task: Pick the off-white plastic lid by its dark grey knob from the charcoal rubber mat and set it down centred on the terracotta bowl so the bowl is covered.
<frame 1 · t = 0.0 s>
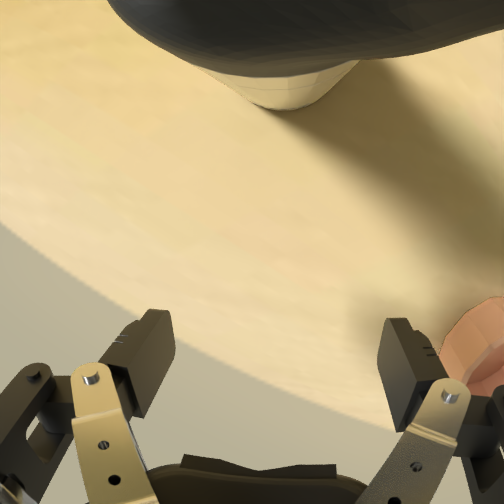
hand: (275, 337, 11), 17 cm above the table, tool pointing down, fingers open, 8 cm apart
bowl: (484, 344, 30), on the table
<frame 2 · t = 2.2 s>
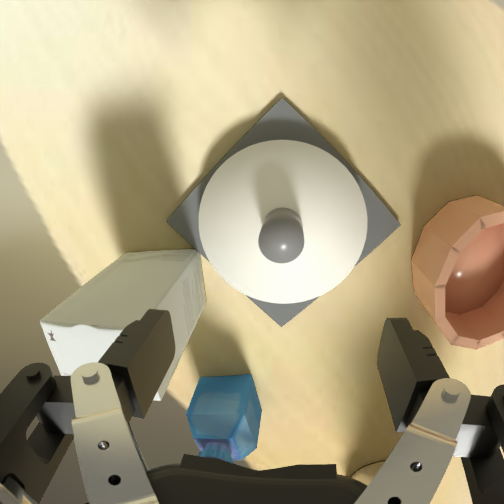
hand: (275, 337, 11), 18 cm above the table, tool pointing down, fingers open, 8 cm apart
mat: (283, 219, 28), on the table
bowl: (467, 260, 27), on the table
lid: (283, 221, 28), point 1 cm above the table, touching mat
perfume bottle: (231, 393, 36), on the table
skincare box: (168, 274, 32), on the table
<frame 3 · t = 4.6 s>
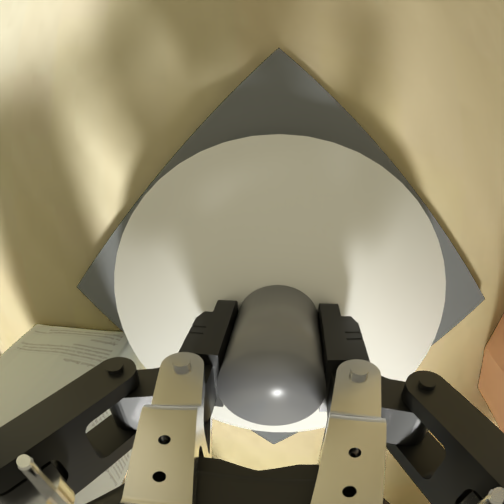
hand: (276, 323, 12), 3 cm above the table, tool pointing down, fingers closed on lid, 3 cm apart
mat: (279, 293, 15), on the table
lid: (279, 300, 14), point 1 cm above the table, touching gripper, mat
skincare box: (97, 360, 18), on the table
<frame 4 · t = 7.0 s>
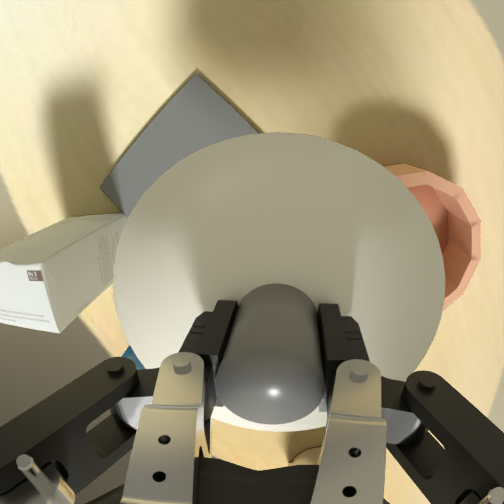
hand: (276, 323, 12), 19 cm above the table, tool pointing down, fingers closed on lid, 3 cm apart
mat: (197, 185, 30), on the table
bowl: (395, 232, 29), on the table
lid: (278, 298, 14), point 17 cm above the table, touching gripper
skincare box: (103, 237, 33), on the table
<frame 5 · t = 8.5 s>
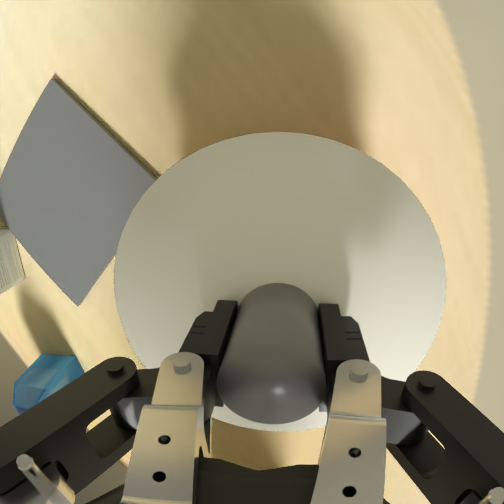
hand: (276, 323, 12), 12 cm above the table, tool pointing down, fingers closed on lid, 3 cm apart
mat: (60, 195, 25), on the table
lid: (279, 298, 14), point 10 cm above the table, touching gripper
perfume bottle: (69, 374, 33), on the table
skincare box: (1, 252, 28), on the table
when the fingers open (8 cm above the table, at t = 9.5 s): lid drops 1 cm, resting on bowl.
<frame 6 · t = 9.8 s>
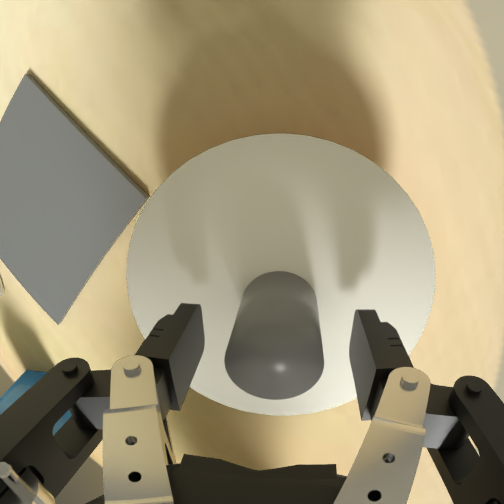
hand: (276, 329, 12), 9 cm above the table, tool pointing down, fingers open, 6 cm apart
mat: (35, 203, 21), on the table
lid: (280, 287, 15), point 5 cm above the table, touching bowl
perfume bottle: (55, 392, 29), on the table
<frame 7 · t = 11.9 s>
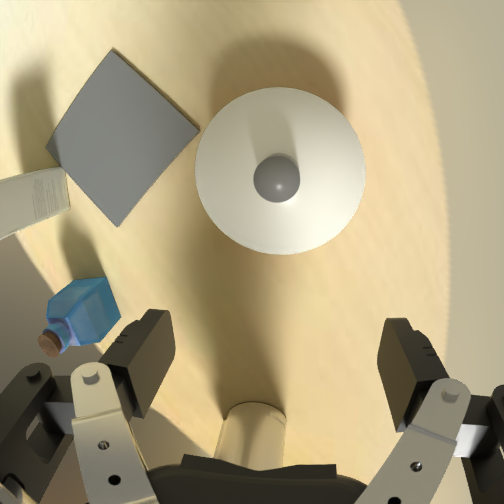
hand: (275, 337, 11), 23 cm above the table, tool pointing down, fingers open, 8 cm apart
mat: (112, 137, 33), on the table
lid: (280, 170, 27), point 5 cm above the table, touching bowl
perfume bottle: (97, 297, 41), on the table
skincare box: (49, 189, 36), on the table
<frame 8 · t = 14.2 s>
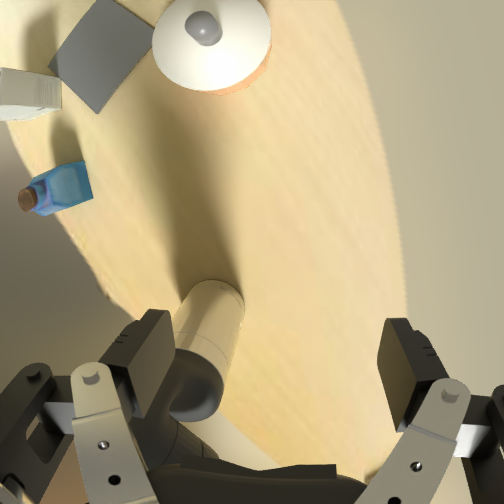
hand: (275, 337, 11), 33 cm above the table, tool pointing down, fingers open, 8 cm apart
mat: (99, 50, 38), on the table
bowl: (220, 49, 37), on the table
lid: (212, 38, 32), point 5 cm above the table, touching bowl
perfume bottle: (75, 184, 46), on the table
skincare box: (46, 98, 41), on the table
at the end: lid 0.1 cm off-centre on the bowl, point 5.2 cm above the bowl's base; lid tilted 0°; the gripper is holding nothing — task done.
